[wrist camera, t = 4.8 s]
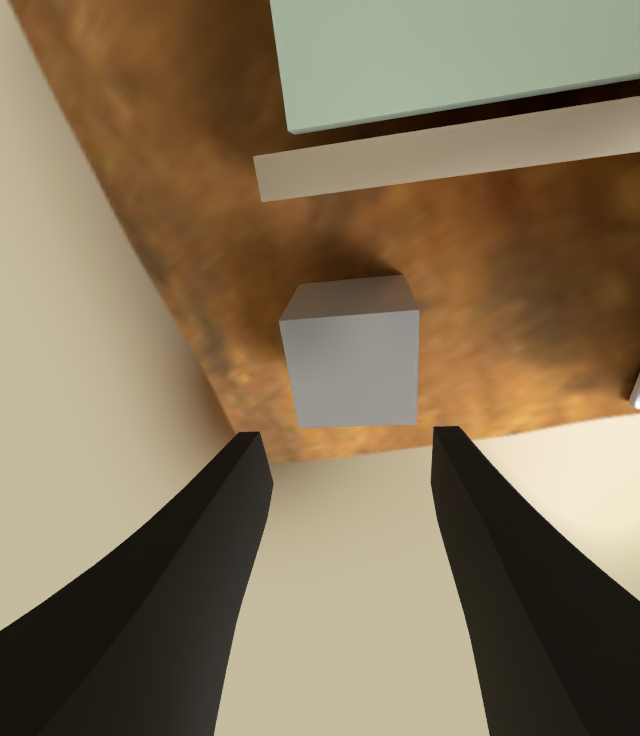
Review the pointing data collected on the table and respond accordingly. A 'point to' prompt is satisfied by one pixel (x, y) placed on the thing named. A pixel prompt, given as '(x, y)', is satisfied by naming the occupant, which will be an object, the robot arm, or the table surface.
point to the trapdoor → (443, 54)
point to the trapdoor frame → (453, 150)
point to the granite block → (353, 352)
